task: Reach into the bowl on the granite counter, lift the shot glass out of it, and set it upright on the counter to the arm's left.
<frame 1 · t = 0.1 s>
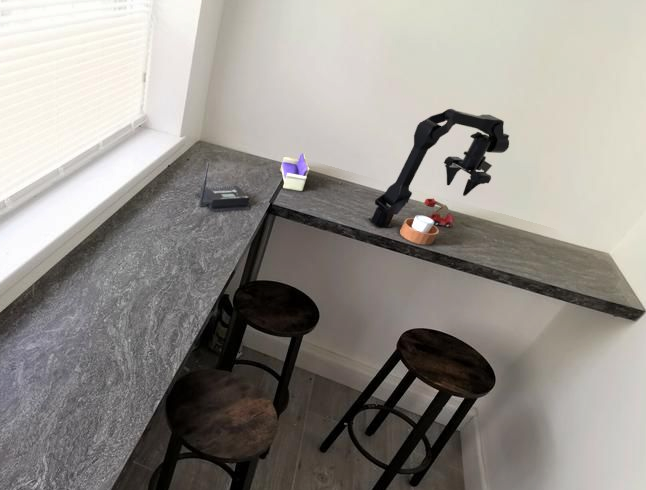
hand: (455, 190, 191), 15 cm above the worktop, tool pointing down, fingers open, 9 cm apart
bowl: (416, 236, 188), on the worktop
toy sofa: (290, 181, 216), on the worktop
black wifi router: (218, 202, 190), on the worktop
shot glass: (416, 235, 188), resting on bowl
toy fire truck: (433, 223, 200), on the worktop
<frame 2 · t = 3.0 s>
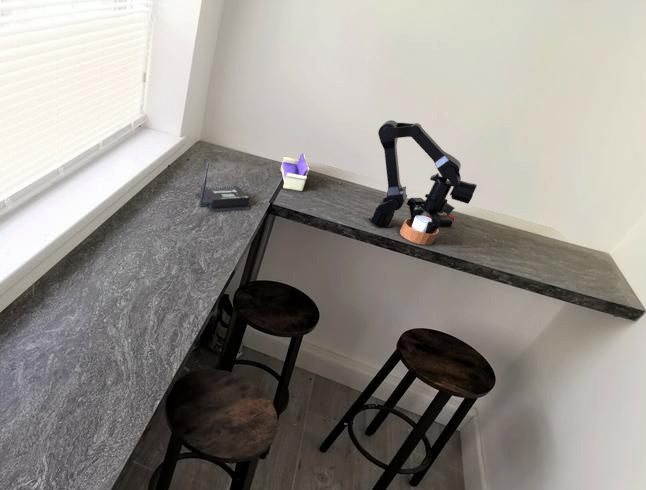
hand: (419, 232, 187), 2 cm above the worktop, tool pointing down, fingers open, 7 cm apart
nothing on the worktop moved.
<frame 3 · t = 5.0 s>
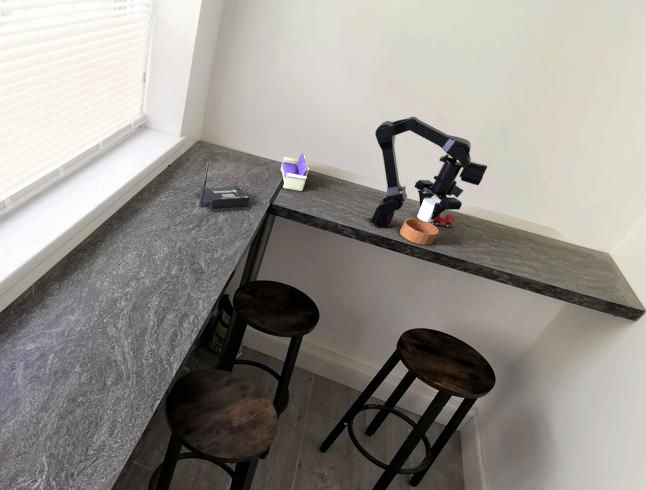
hand: (426, 215, 183), 9 cm above the worktop, tool pointing down, fingers closed on shot glass, 6 cm apart
shot glass: (424, 218, 184), point 7 cm above the worktop, touching gripper
everything else where it was.
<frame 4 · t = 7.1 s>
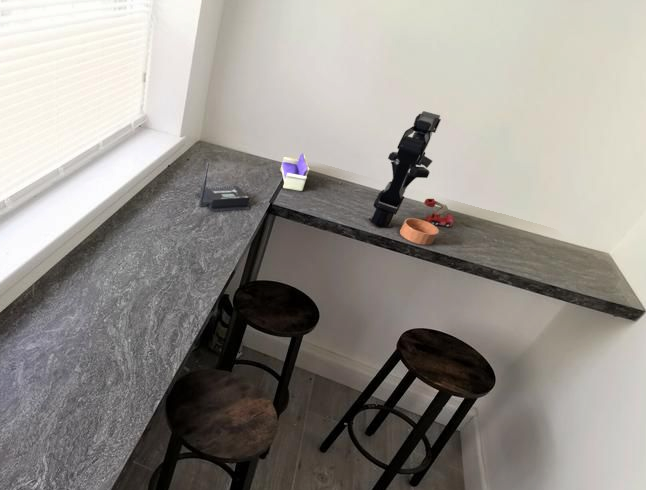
hand: (399, 185, 195), 12 cm above the worktop, tool pointing down, fingers closed on shot glass, 6 cm apart
shot glass: (397, 188, 196), point 10 cm above the worktop, touching gripper
everything else where it was.
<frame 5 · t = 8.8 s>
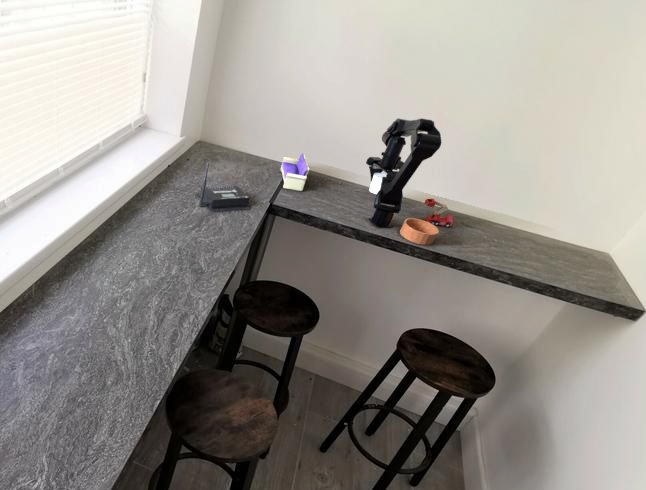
hand: (377, 189, 202), 7 cm above the worktop, tool pointing down, fingers closed on shot glass, 6 cm apart
shot glass: (375, 192, 203), point 6 cm above the worktop, touching gripper
everything else where it was.
when the fingers open (1 cm above the worktop, at t = 10.7 s): shot glass stays where it is, on the worktop.
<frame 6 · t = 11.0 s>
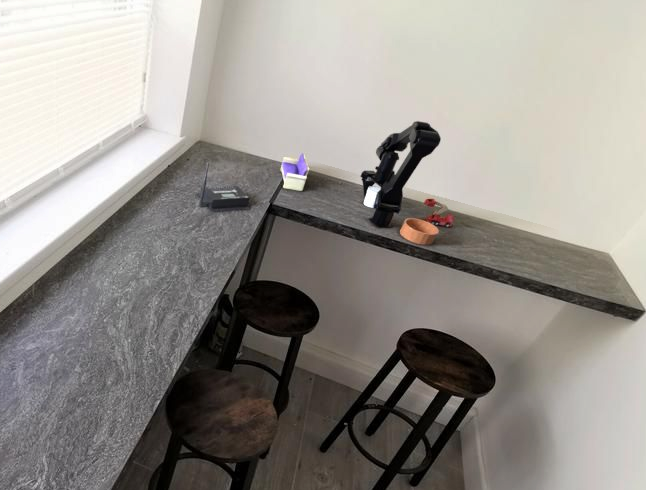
hand: (371, 202, 206), 1 cm above the worktop, tool pointing down, fingers open, 9 cm apart
shot glass: (370, 205, 207), on the worktop
everything else where it was.
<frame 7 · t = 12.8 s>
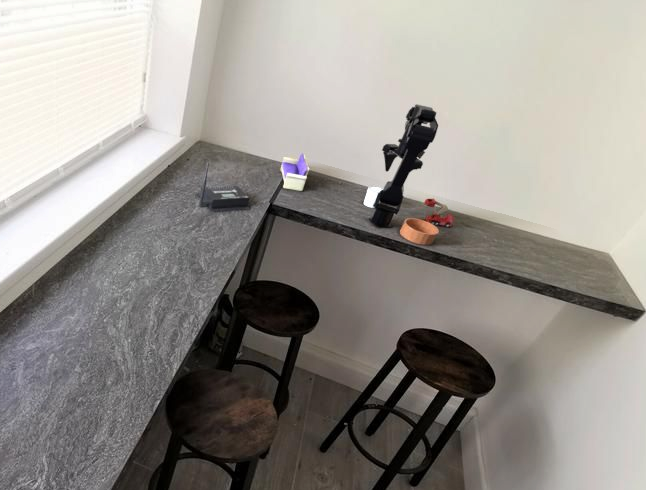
hand: (393, 176, 202), 12 cm above the worktop, tool pointing down, fingers open, 9 cm apart
nothing on the worktop moved.
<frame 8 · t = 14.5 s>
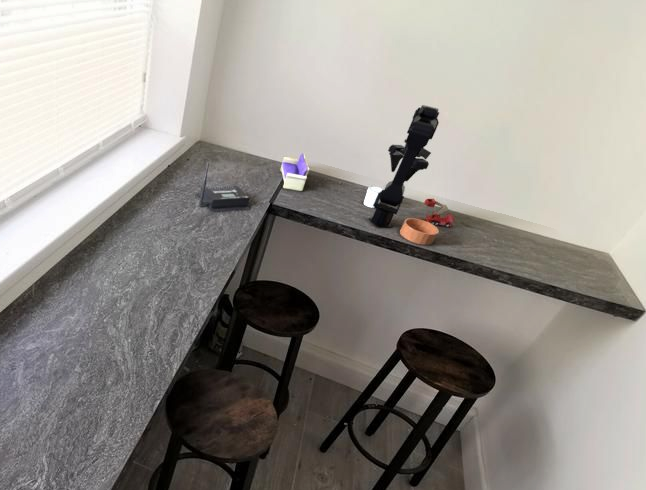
hand: (399, 176, 203), 12 cm above the worktop, tool pointing down, fingers open, 9 cm apart
nothing on the worktop moved.
at the end: shot glass inside the target area (0.1 cm from its centre), on the worktop; shot glass tilted 0°; the gripper is holding nothing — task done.
